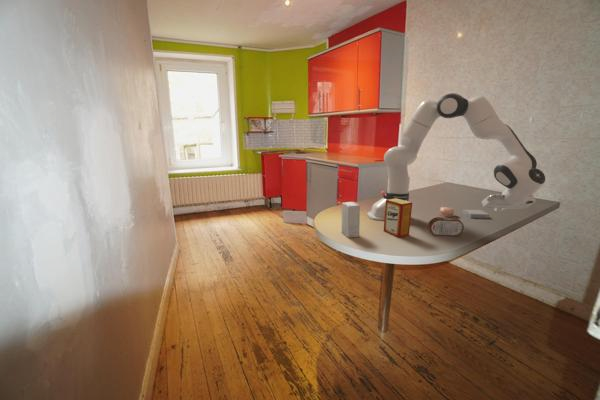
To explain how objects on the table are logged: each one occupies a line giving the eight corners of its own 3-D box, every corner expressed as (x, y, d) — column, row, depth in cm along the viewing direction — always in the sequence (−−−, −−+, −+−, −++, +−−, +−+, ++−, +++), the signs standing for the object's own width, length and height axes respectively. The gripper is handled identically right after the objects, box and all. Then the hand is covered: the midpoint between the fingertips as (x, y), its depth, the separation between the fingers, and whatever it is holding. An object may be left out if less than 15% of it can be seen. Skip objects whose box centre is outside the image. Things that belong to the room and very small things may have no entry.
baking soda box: (383, 231, 136) (386, 198, 132) (393, 229, 139) (396, 197, 135) (398, 237, 127) (402, 203, 124) (408, 235, 131) (412, 201, 127)
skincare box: (359, 237, 128) (361, 205, 124) (346, 238, 127) (348, 206, 123) (352, 230, 136) (353, 200, 132) (340, 231, 135) (341, 201, 131)
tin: (460, 234, 132) (462, 217, 130) (463, 237, 129) (466, 219, 127) (426, 233, 133) (428, 216, 131) (429, 235, 130) (431, 218, 128)
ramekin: (442, 216, 159) (443, 210, 158) (437, 213, 166) (438, 206, 165) (455, 217, 159) (456, 210, 158) (449, 213, 165) (450, 206, 164)
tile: (470, 214, 156) (462, 209, 165) (470, 218, 157) (461, 214, 166) (489, 214, 156) (480, 209, 165) (488, 219, 157) (479, 214, 165)
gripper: (493, 201, 129) (477, 215, 141) (539, 201, 128) (520, 216, 140) (488, 189, 132) (474, 204, 144) (534, 190, 131) (515, 205, 143)
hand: (497, 210), depth 142 cm, fingers closed
